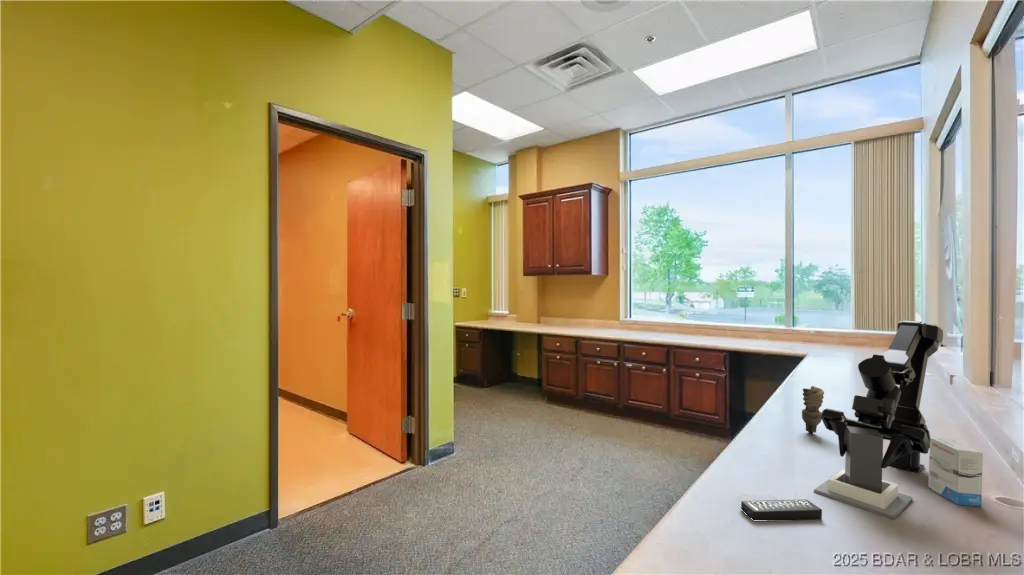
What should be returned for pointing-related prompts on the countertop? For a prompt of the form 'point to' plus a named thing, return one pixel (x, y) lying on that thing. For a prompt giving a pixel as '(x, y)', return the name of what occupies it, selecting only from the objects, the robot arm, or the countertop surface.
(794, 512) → the multiport hub
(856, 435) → the plug
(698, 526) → the countertop surface
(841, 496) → the socket board
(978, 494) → the ink box
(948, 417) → the countertop surface
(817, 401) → the light bulb
